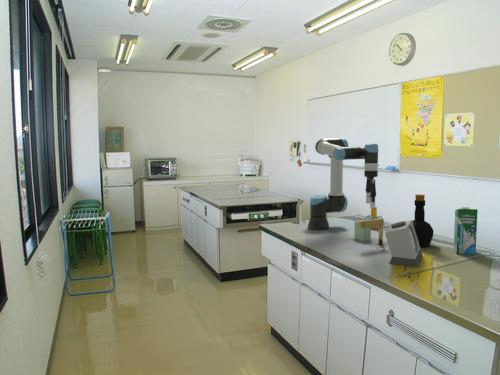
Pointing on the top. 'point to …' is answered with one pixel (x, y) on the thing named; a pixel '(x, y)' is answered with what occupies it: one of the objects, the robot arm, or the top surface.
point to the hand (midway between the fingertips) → (370, 205)
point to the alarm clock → (403, 244)
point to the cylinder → (373, 216)
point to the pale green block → (362, 232)
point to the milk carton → (465, 231)
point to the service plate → (372, 242)
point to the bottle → (422, 223)
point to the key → (373, 223)
